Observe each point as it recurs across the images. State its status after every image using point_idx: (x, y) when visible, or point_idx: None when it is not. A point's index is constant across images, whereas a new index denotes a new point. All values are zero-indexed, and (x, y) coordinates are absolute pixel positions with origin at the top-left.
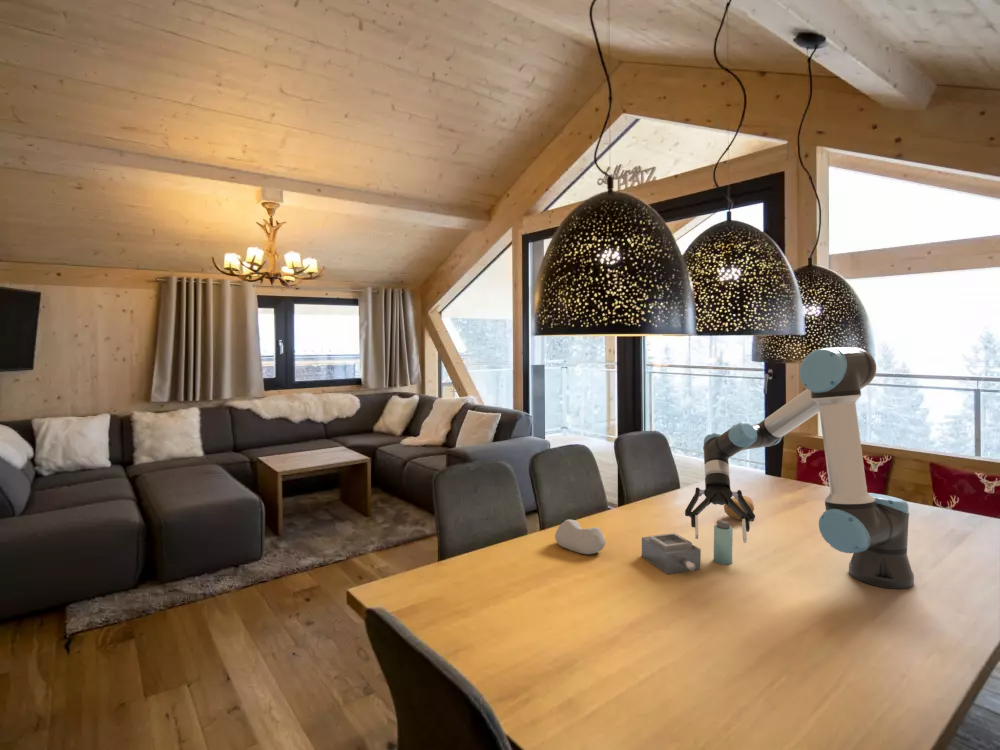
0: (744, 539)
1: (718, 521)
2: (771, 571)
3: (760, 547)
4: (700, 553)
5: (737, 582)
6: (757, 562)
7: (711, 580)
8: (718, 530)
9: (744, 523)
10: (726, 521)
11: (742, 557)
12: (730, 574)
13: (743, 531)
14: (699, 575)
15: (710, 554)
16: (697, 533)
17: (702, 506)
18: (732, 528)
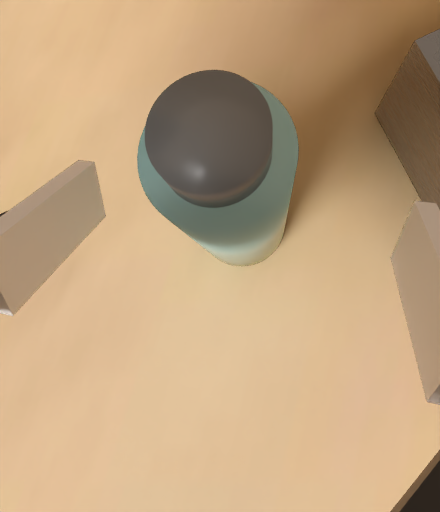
0: (94, 171)
1: (251, 154)
2: (69, 138)
3: (4, 426)
4: (405, 58)
5: (241, 10)
6: None
7: (346, 8)
8: (273, 103)
9: (4, 221)
10: (166, 164)
11: (134, 284)
12: None
13: (63, 192)
14: (391, 49)
15: (280, 313)
16: (424, 207)
17: (435, 485)
18: (144, 131)
